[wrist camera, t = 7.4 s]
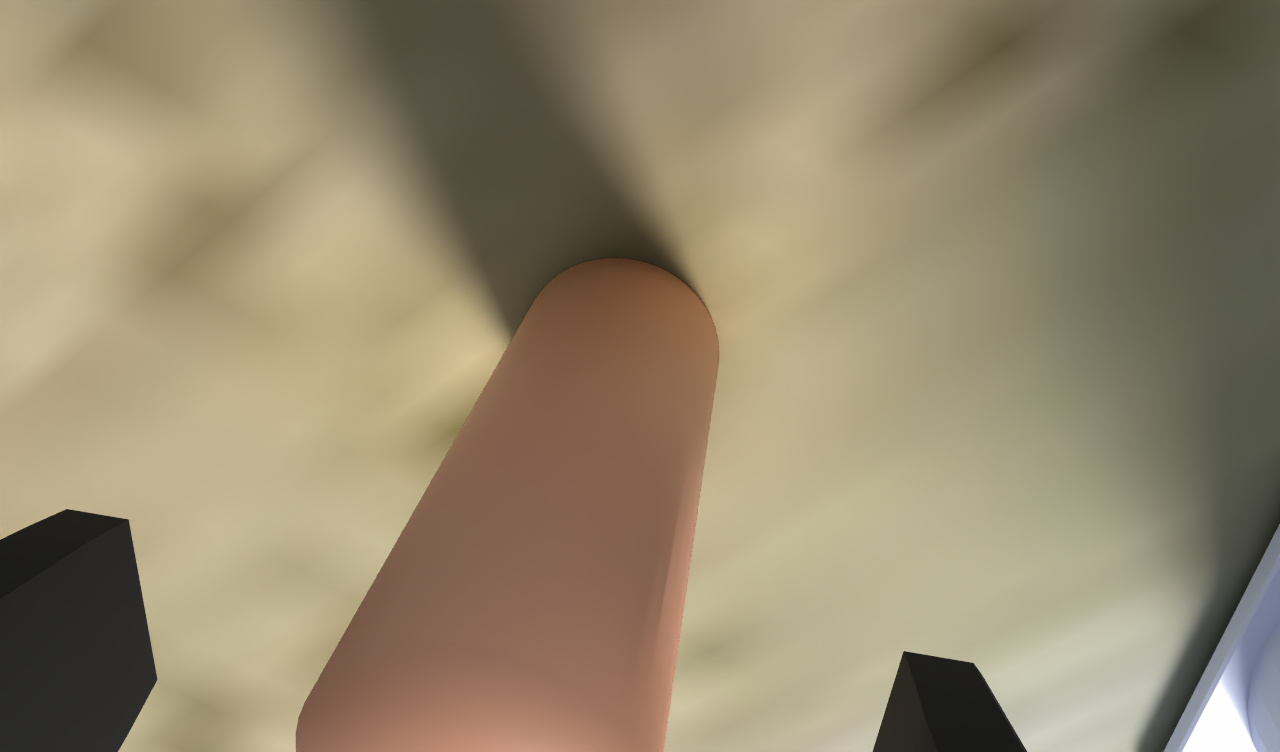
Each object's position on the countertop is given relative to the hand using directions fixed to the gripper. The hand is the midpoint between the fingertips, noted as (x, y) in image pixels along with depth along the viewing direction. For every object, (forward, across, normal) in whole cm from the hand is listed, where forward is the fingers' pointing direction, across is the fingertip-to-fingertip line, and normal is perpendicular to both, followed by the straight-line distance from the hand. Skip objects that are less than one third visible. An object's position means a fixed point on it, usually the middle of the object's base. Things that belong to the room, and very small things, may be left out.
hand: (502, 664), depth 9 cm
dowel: (+7, 0, 0) cm, 7 cm away
